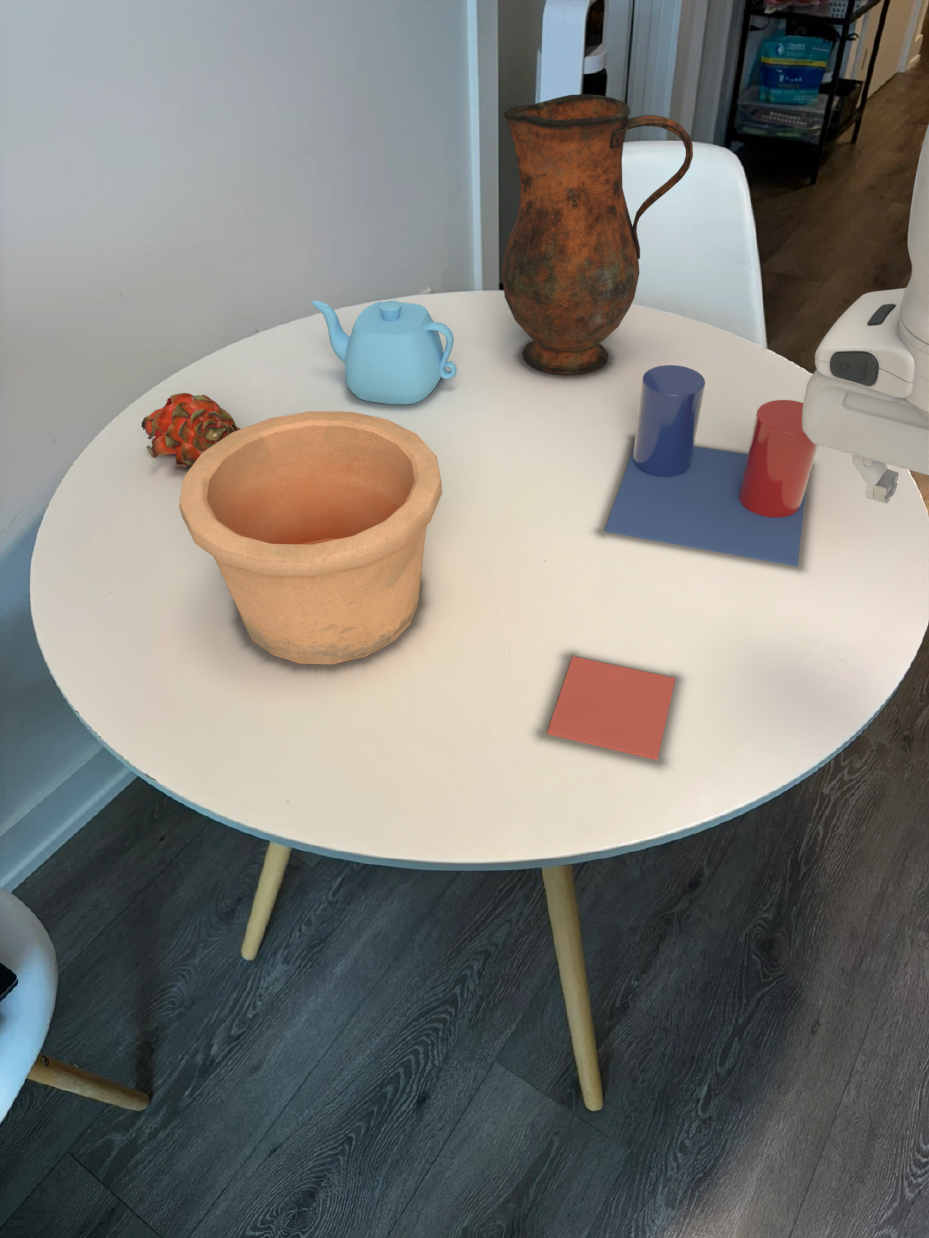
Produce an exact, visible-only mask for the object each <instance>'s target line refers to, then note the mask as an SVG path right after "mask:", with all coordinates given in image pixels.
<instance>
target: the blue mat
mask: <svg viewBox="0 0 929 1238" xmlns="http://www.w3.org/2000/svg"><path fill="white" fill-rule="evenodd" d="M633 453H634V447H633V448H632V452H631V454H630V457H629V460H628V463H627V465H626V468H625V471H624V474H623V476H622V479H621V483H620V485H619V487H618V491H617V494H616V497H615V500H614V503H613V505H612V508H611V511H610V514H609V517H608V520H607V523H606V525H605V528H604V532H605V533H610V534H615V535H620V536H626V537H632V538H638V539H643V540H648V541H649V540H650V541H655V542H660V543H666V544H671V545H676V546H682V547H687V548H692V549H693V548H694V549H698V550H705V551H711V552H715V553H720V554H721V553H722V554H727V555H733V556H738V557H744V558H749V559H755V560H761V561H765V562H771V563H777V564H783V565H787V566H792V567H793V566H794V567H798V565H799V557H800V548H801V547H800V546H801V537H802V526H803V519H804V518H803V516H804V507H805V499H806V498H805V497H806V491H805V492H804V496H803V499H802V503H801V506H800V508H799V510H798V511H797V512H795V513H794V514H792V515H789V516H786V517H777V518H775V517H766V516H761V515H758V514H755V513H753V512H751V511H749V510H748V509H746V508H745V507H744V506H743V505H742V504H741V502H740V500H739V490H740V485H741V481H742V476H743V472H744V468H745V463H746V459H747V454H748V453H741V452H740V453H739V452H735V451H728V450H722V449H715V448H714V449H713V448H709V447H703V446H696V445H694V450H693V455H692V461H691V466H690V468H689V469H688V470H687V471H686V472H684V473H683V474H680V475H677V476H673V477H658V476H653V475H650V474H647V473H645V472H643V471H641V470H640V469H638V468H637V467H636V465H635V464H634V462H633Z"/></svg>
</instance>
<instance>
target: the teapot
mask: <svg viewBox="0 0 929 1238" xmlns="http://www.w3.org/2000/svg"><path fill="white" fill-rule="evenodd" d="M310 303H311V305H312V306H314V307H315V309H317V310H318V311H319V312H320V313H321V314H322V316H323V318H324V320H325V323H326V327H327V331H328V337H329V343H330V346H331V349H332V351H333V353H334V355H335V356H336V357H337V358H338V359H339V360H340V361H341V362H342V363H344V377H345V383H346V385H347V387H348V388H349V390H350V391H351V392H352V393H353V395H354V396H355V397H356V398H358V399H359V400H362V401H367V402H372V403H378V404H385V405H413V404H416V403H419V402H421V401H423V400H424V399H425V398H427V397H428V396H429V395H430V394H431V393H432V392H433V391H434V390H435V388H436V387H437V385H438V384H439V381H440V380H441V378H442V379H444V380H450V379H453V378H454V377H455V376H456V375H457V373H458V372H457V371H458V369H457V365H456V364H455V362H453V361H448V360H449V358H450V355H451V353H452V350H453V347H454V342H455V341H454V340H455V339H454V337H455V336H454V333H453V331H452V330H451V329H450V327H449V326H447V325H446V324H444V323H442V322H439V321H434V320H433V318H432V316H431V314H430V313H429V311H428V309H427V308H426V307H425V306H423V305H422V304H418V303H412V302H401V301H397V300H385V301H377V302H374V303H371V304H370V305H368V306H367V307H366V308H365V307H364V309H363V310H362V311H361V312H360V313H359V314H358V316H357V317H356V319H355V322H354V324H353V327H352V330H351V333H350V334H349V335H348V334H347V333H346V332H345V331H344V329H343V327H342V325H341V322H340V319H339V317H338V315H337V313H336V311H335V310H334V308H333V307H332V306H331V305H330V304H327V303H325V302H323V301H319V300H311V301H310ZM439 333H440V334H442V335H443V336H444V337H445V339H446V343H445V347H444V348H443V343H442V340H441V336H440V334H439ZM446 368H448V369H450V370H447V369H446Z"/></svg>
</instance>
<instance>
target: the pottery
mask: <svg viewBox="0 0 929 1238" xmlns="http://www.w3.org/2000/svg"><path fill="white" fill-rule="evenodd" d="M442 484H443V483H442V477H441V472H440V466H439V462H438V456H437V455H436V454H435V452H434V451H432V449H431V448H430V447H429V446H428V445H427V443H426V442H425V441H424V440H423V439H422V438H421V437H420V436H419V435H418V433H416V432H414V431H412V430H410V429H408V428H405V427H403V426H401V425H399V424H397V423H395V422H393V421H391V420H389V419H388V418H383V417H378V416H375V415H374V416H373V415H369V414H363V413H358V412H354V411H327V410H325V411H323V410H322V411H319V410H318V411H317V410H315V411H313V410H312V411H304V412H299V413H292V414H288V415H282V416H276V417H275V416H274V417H269V418H266V419H265V420H262V421H259V422H257V423H254V424H251V425H248V426H246V427H243V428H240V430H238V431H235V432H232V433H231V434H229V435H228V436H226V437H225V438H223V439H222V440H221V441H219V442H218V443H216V444H215V445H213V446H212V447H210V448H209V449H207V450H206V451H204V452H203V453H202V454H201V455H200V457H199V458H198V459H197V460H196V462H195V463H194V464H192V466H190V468H189V470H188V471H187V472H186V473H185V474H184V476H183V479H182V485H181V491H180V497H179V503H178V508H179V512H180V514H181V518H182V520H183V522H184V524H185V526H186V528H187V531H188V532H189V534H190V536H191V538H192V540H193V542H194V544H195V545H196V546H198V547H199V548H201V549H202V550H204V551H205V552H206V553H208V554H209V555H210V556H211V557H213V558H214V561H215V563H216V565H217V567H218V569H219V572H220V573H221V576H222V578H223V580H224V582H225V585H226V587H227V589H228V591H229V593H230V595H231V597H232V599H233V602H234V603H235V606H236V608H237V611H238V612H239V615H240V618H241V622H242V624H243V626H244V627H245V629H246V632H247V634H248V635H249V637H250V639H251V641H253V642H254V643H255V644H257V645H258V646H259V647H260V648H261V649H263V650H264V651H266V652H267V653H268V654H270V655H271V656H274V657H277V658H280V659H284V660H287V661H291V662H294V663H297V664H300V665H301V664H303V665H336V664H341V663H344V662H349V661H353V660H357V659H362V658H366V657H368V656H369V655H372V654H374V653H375V652H377V651H379V650H381V649H384V648H385V647H386V646H389V645H390V644H392V643H394V642H395V641H396V639H398V637H400V636H401V634H402V633H403V632H404V631H405V630H407V628H408V627H409V626H410V625H411V624H412V622H413V620H414V617H415V614H416V611H417V608H418V606H419V604H420V589H421V581H422V574H423V573H422V572H423V563H424V562H423V561H424V554H425V545H426V536H427V535H426V534H427V525H429V524H430V523H431V521H432V519H433V517H434V514H435V511H436V509H437V507H438V505H439V502H440V499H441V497H442V495H443V485H442Z"/></svg>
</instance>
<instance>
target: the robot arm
mask: <svg viewBox="0 0 929 1238" xmlns="http://www.w3.org/2000/svg"><path fill="white" fill-rule="evenodd" d="M914 178H915V179H914V186H913V191H912V198H911V205H910V211H909V212H910V213H909V221H908V222H909V223H908V230H907V251H908V256H909V259H910V263H911V275H910V279H909V281H908V284H907V285H906V287H904V288H903V287H902V288H894V289H886V290H877V291H876V290H875V291H870V292H866V293H864V294H862V295H861V296H860V297H859V298H857V299H856V300H855V301H854V302H853V303H852V304H851V305H850V306H849V307H848V308H847V309H846V310H845V311H844V312H843V313H842V314H841V315H840V316H839V317H838V318H837V320H836V321H835V322H834V323H833V325H832V326H831V327H830V329H829V330H828V332H826V334H825V335H824V337H823V338H822V340H821V342H820V343H819V345H818V347H817V349H816V350H815V353H814V364H815V368H816V370H815V371H814V372H813V373H812V374H811V376H810V377H809V379H808V381H807V383H806V387H805V392H804V397H803V402H802V403H803V411H802V429H803V431H804V433H805V434H806V435H807V437H808V438H809V439H810V441H811V442H812V443H814V444H816V445H818V447H819V446H820V447H823V448H827V449H832V450H835V451H838V452H842V453H845V454H849V455H852V464H853V465H854V467H855V468H856V470H857V471H858V473H859V474H860V476H861V477H862V479H863V481H864V482H865V483H866V493H865V498H866V499H868V500H873V501H877V502H879V503H883V504H888V503H889V502H890V500H891V498H892V497H893V496H894V494H896V491H897V488H898V483H897V481H898V479H899V472H898V471H895V470H891V469H888V467H887V465H889V466H893V467H897V468H901V469H904V470H908V471H911V472H915V473H918V474H923V475H925V476H926V475H927V476H929V124H928V126H927V128H926V131H925V135H924V138H923V141H922V145H921V149H920V154H919V158H918V164H917V167H916V174H915V177H914Z"/></svg>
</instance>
